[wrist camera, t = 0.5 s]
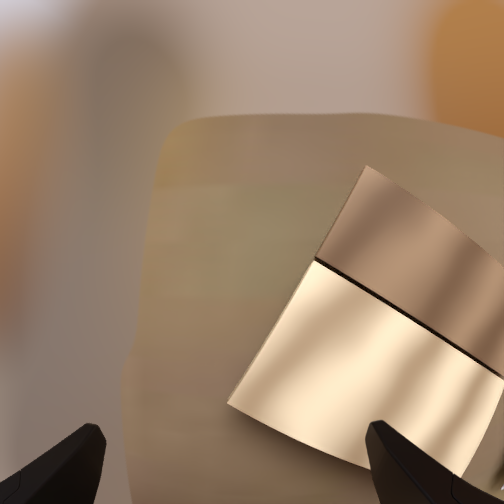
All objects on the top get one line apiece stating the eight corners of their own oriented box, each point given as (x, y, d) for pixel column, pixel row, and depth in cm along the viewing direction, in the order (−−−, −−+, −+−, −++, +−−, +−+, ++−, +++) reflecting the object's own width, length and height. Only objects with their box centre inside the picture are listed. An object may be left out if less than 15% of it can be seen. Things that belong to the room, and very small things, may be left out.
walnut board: (532, 304, 17) (542, 306, 15) (498, 373, 17) (506, 378, 16) (361, 171, 19) (366, 165, 18) (314, 256, 20) (316, 256, 18)
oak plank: (494, 381, 17) (505, 382, 16) (441, 486, 15) (451, 491, 13) (308, 266, 20) (314, 260, 18) (228, 398, 17) (226, 403, 16)
